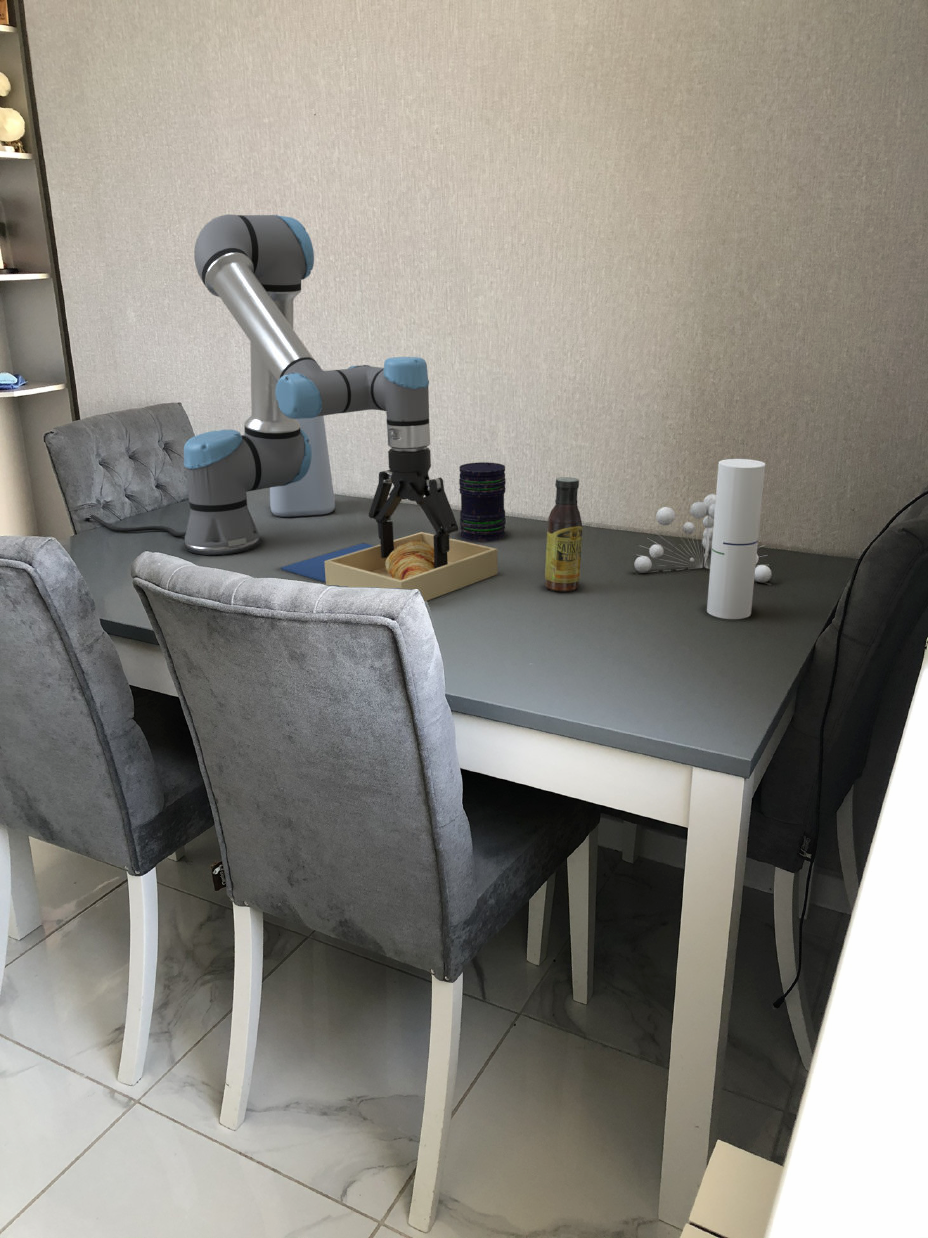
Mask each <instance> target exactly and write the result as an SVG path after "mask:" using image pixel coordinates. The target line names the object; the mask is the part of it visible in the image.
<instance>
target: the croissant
mask: <svg viewBox="0 0 928 1238" xmlns="http://www.w3.org/2000/svg"><path fill="white" fill-rule="evenodd" d="M385 566H386V570H387V571H388V573H389V574H390V575H391V576H392V578H395V579H399V580H403V579H406V578H409V577H412V576H415V575H418V574H421V573H424V572H427V571H430V570H433V569H435V568H434V548H433V547H431V546H430V545H429V544H427V543H424V542H421V540H416V541H411V542H408V543H404V544H401V545H400V546H398V547H397V548H396V549H394V551H392V552H391V553H390V555H389V556H388V558H387V559H386V562H385Z"/></svg>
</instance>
